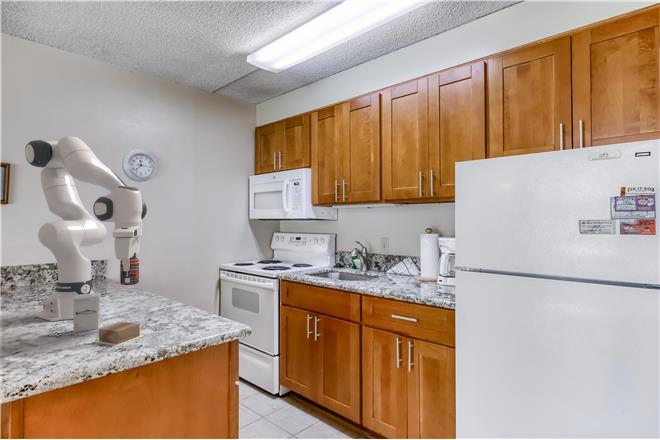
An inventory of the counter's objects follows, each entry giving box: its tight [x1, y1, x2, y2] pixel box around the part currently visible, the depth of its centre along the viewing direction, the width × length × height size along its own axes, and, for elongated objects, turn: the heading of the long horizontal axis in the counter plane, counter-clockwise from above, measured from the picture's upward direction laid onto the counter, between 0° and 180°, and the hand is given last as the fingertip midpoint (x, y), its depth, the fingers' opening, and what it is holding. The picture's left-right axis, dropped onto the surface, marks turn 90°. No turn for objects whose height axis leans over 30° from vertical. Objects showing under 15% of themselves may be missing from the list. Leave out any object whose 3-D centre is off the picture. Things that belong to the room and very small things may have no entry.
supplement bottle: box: [119, 253, 140, 286], centre depth 128 cm, size 6×6×11 cm
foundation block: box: [98, 321, 141, 344], centre depth 114 cm, size 8×8×4 cm
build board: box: [93, 334, 145, 347], centre depth 116 cm, size 18×14×1 cm
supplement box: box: [73, 292, 102, 334], centre depth 126 cm, size 7×7×13 cm
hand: (129, 269), depth 128 cm, fingers closed on supplement bottle, 6 cm apart
